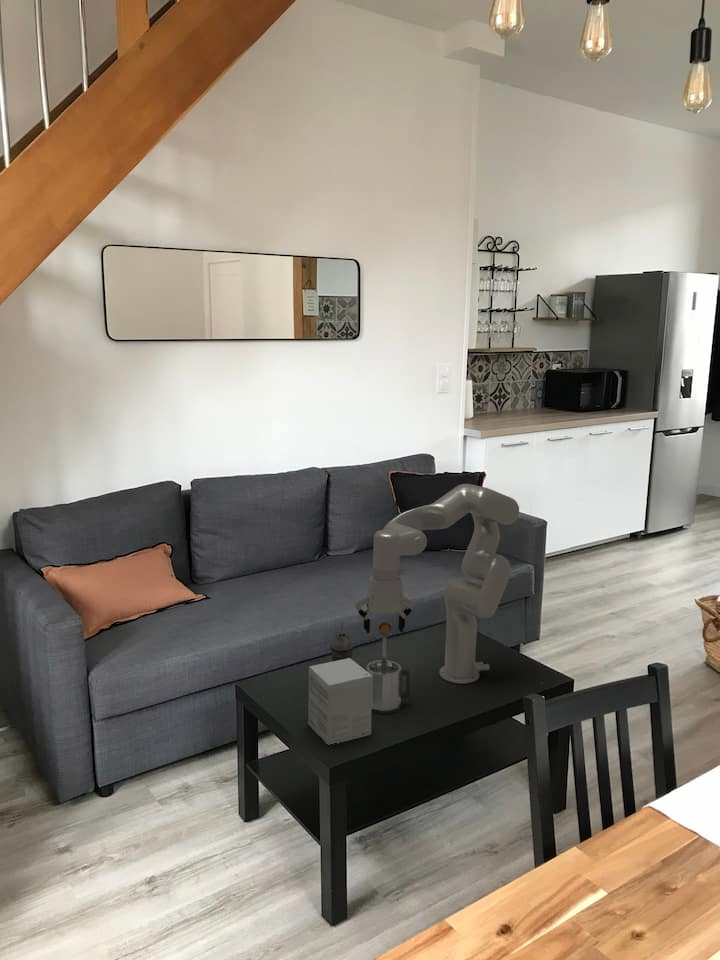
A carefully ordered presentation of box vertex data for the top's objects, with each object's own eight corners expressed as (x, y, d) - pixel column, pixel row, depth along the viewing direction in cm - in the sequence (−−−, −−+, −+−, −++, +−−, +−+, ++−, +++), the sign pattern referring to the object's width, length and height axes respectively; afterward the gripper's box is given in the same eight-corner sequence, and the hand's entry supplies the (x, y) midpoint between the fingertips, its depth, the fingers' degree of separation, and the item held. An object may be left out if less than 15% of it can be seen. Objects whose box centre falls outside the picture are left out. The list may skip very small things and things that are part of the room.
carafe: (404, 695, 234) (405, 658, 232) (412, 712, 224) (413, 673, 222) (362, 698, 232) (363, 660, 230) (368, 715, 222) (369, 676, 220)
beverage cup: (354, 677, 246) (355, 617, 242) (351, 687, 239) (352, 626, 235) (331, 675, 247) (332, 616, 243) (328, 686, 240) (329, 624, 236)
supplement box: (349, 714, 223) (350, 656, 219) (371, 735, 211) (373, 675, 208) (307, 724, 217) (307, 665, 213) (328, 746, 205) (328, 685, 202)
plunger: (393, 668, 230) (395, 616, 227) (399, 680, 223) (400, 626, 220) (368, 670, 229) (369, 617, 226) (372, 681, 222) (374, 627, 219)
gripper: (412, 569, 225) (410, 625, 228) (353, 570, 222) (352, 627, 226) (418, 577, 218) (416, 634, 221) (357, 578, 215) (356, 636, 218)
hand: (384, 630), depth 223 cm, fingers open, 9 cm apart
